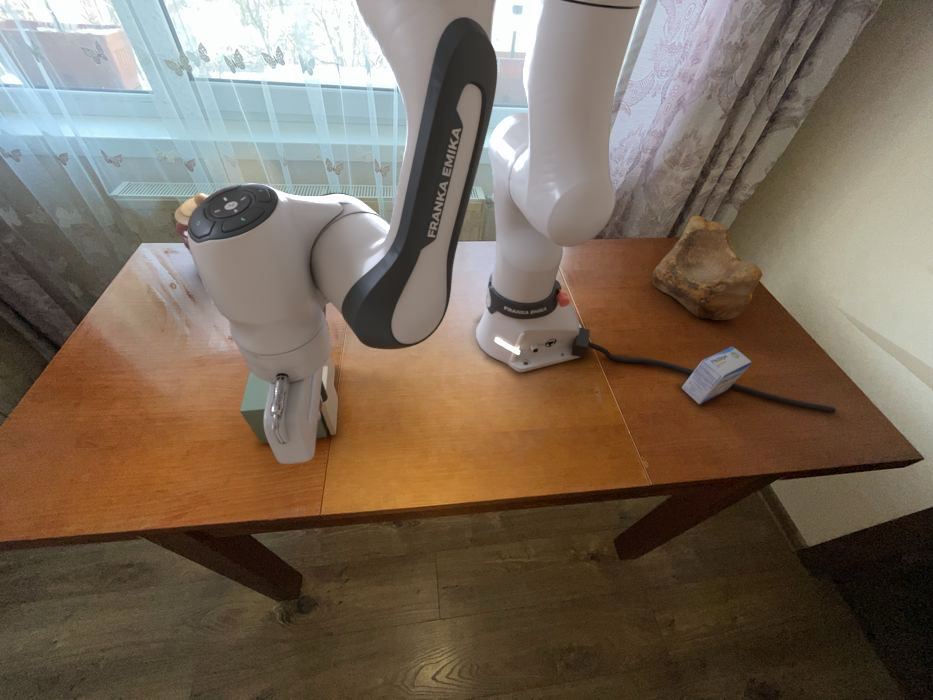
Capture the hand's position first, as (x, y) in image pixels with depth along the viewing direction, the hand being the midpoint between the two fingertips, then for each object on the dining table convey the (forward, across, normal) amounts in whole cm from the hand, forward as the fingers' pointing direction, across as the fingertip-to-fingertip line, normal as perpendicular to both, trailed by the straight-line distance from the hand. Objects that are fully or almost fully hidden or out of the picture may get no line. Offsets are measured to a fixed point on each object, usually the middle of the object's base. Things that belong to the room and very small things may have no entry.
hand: (315, 411), depth 53 cm
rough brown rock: (+13, +32, -78) cm, 85 cm away
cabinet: (+13, +10, +6) cm, 17 cm away
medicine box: (+13, +5, -68) cm, 69 cm away
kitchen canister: (+13, +49, +25) cm, 56 cm away
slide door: (+12, +7, 0) cm, 14 cm away
